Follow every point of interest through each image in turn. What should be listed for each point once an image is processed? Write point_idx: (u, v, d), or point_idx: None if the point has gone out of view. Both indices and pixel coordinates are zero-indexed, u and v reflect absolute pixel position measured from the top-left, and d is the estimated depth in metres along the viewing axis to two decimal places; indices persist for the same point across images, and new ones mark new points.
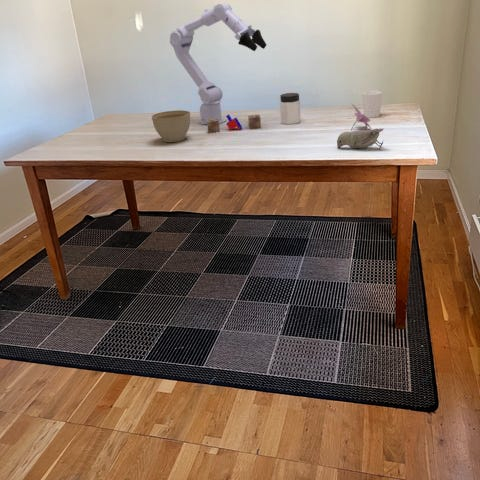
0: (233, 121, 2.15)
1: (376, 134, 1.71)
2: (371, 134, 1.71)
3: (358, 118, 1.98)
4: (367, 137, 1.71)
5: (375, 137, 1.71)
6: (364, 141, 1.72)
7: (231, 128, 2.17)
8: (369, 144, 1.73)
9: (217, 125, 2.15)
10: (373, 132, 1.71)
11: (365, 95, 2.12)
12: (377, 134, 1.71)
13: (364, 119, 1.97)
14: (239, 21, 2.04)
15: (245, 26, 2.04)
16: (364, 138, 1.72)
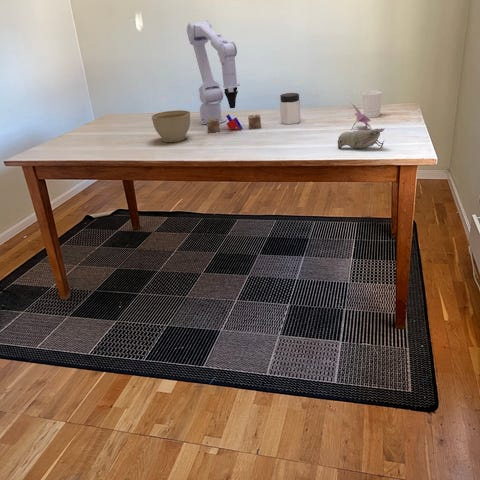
0: (233, 121, 2.15)
1: (377, 134, 1.71)
2: (372, 134, 1.71)
3: (358, 118, 1.98)
4: (367, 137, 1.71)
5: (376, 137, 1.71)
6: (365, 141, 1.72)
7: (231, 128, 2.17)
8: (370, 144, 1.73)
9: (217, 125, 2.15)
10: (374, 132, 1.71)
11: (365, 95, 2.12)
12: (378, 134, 1.71)
13: (364, 119, 1.97)
14: (235, 74, 2.07)
15: (236, 82, 2.09)
16: (365, 138, 1.72)
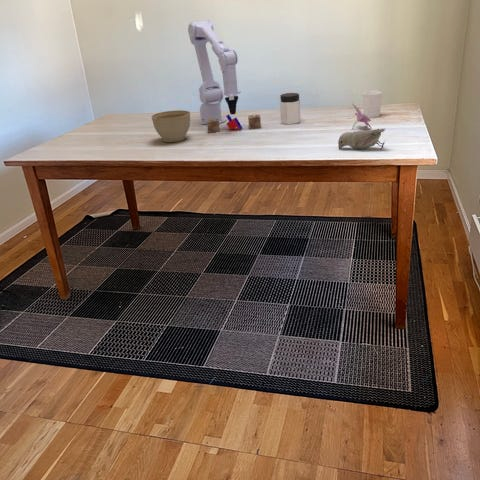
0: (233, 121, 2.15)
1: (378, 134, 1.71)
2: (373, 134, 1.71)
3: (358, 118, 1.98)
4: (368, 137, 1.71)
5: (377, 137, 1.71)
6: (366, 141, 1.72)
7: (231, 128, 2.17)
8: (371, 144, 1.73)
9: (217, 125, 2.15)
10: (375, 132, 1.71)
11: (365, 95, 2.12)
12: (379, 134, 1.71)
13: (364, 119, 1.97)
14: (236, 82, 2.09)
15: (237, 90, 2.10)
16: (366, 138, 1.71)
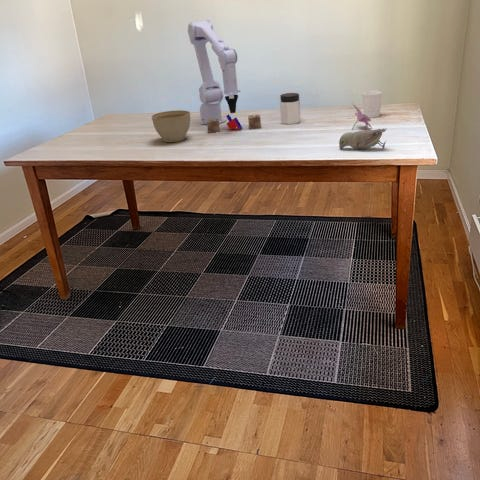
0: (233, 121, 2.15)
1: (379, 134, 1.71)
2: (374, 134, 1.70)
3: (359, 118, 1.98)
4: (370, 137, 1.71)
5: (378, 137, 1.71)
6: (367, 141, 1.71)
7: (231, 128, 2.17)
8: (372, 144, 1.72)
9: (217, 125, 2.15)
10: (376, 132, 1.70)
11: (365, 95, 2.12)
12: (380, 134, 1.71)
13: (365, 119, 1.97)
14: (236, 80, 2.08)
15: (236, 88, 2.10)
16: (367, 138, 1.71)
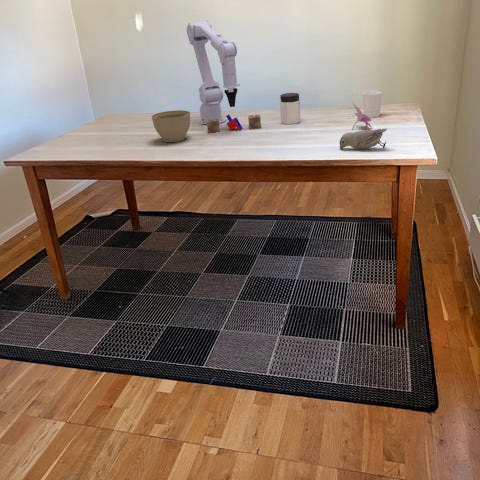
0: (233, 121, 2.15)
1: (379, 134, 1.71)
2: (374, 134, 1.70)
3: (359, 118, 1.98)
4: (370, 137, 1.70)
5: (378, 137, 1.71)
6: (367, 141, 1.71)
7: (231, 128, 2.17)
8: (372, 144, 1.72)
9: (217, 125, 2.15)
10: (376, 132, 1.70)
11: (365, 95, 2.12)
12: (380, 134, 1.71)
13: (365, 119, 1.97)
14: (235, 74, 2.07)
15: (236, 82, 2.09)
16: (367, 138, 1.71)
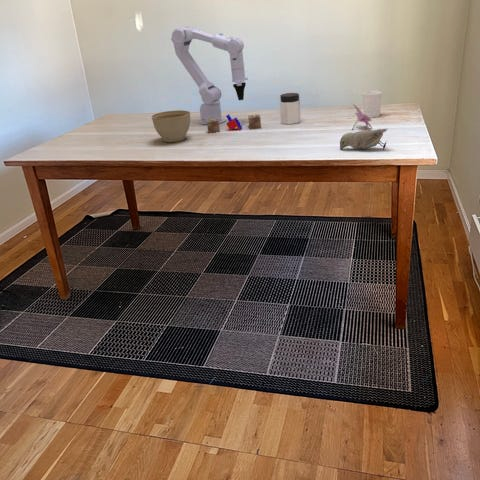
0: (233, 121, 2.15)
1: (380, 134, 1.70)
2: (375, 135, 1.70)
3: (359, 118, 1.98)
4: (370, 138, 1.70)
5: (379, 137, 1.71)
6: (368, 142, 1.71)
7: (231, 128, 2.17)
8: (373, 145, 1.72)
9: (217, 125, 2.15)
10: (377, 132, 1.70)
11: (365, 95, 2.12)
12: (381, 134, 1.71)
13: (365, 119, 1.97)
14: (243, 68, 2.17)
15: (244, 76, 2.19)
16: (368, 138, 1.71)
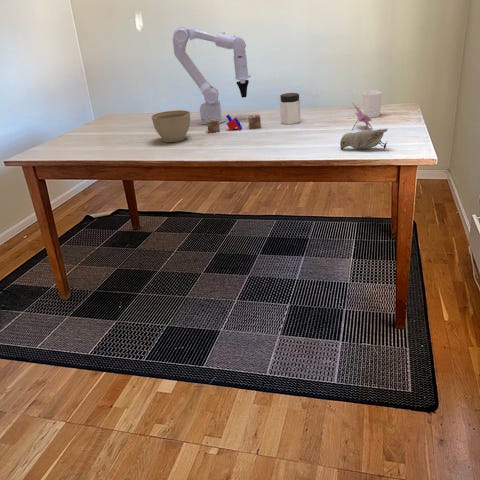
0: (233, 121, 2.15)
1: (380, 134, 1.70)
2: (375, 135, 1.70)
3: (359, 118, 1.98)
4: (371, 138, 1.70)
5: (379, 138, 1.70)
6: (368, 142, 1.71)
7: (231, 128, 2.17)
8: (373, 145, 1.72)
9: (217, 125, 2.15)
10: (377, 133, 1.70)
11: (365, 95, 2.12)
12: (381, 134, 1.70)
13: (365, 119, 1.97)
14: (246, 66, 2.22)
15: (247, 74, 2.24)
16: (368, 139, 1.71)
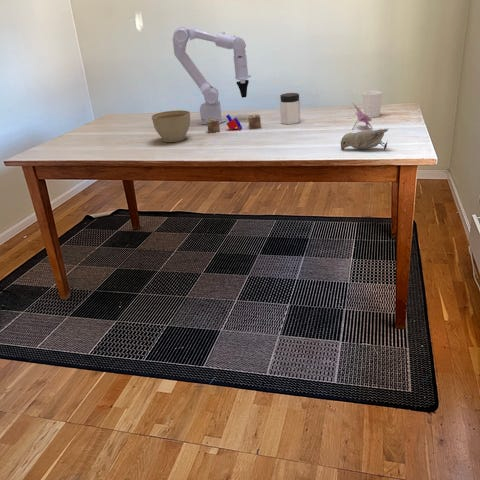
0: (233, 121, 2.15)
1: (381, 134, 1.70)
2: (376, 135, 1.70)
3: (359, 118, 1.98)
4: (372, 138, 1.70)
5: (380, 138, 1.70)
6: (369, 142, 1.71)
7: (231, 128, 2.17)
8: (374, 145, 1.72)
9: (217, 125, 2.15)
10: (378, 133, 1.70)
11: (365, 95, 2.12)
12: (382, 134, 1.70)
13: (365, 118, 1.97)
14: (246, 66, 2.22)
15: (247, 74, 2.24)
16: (369, 139, 1.70)
